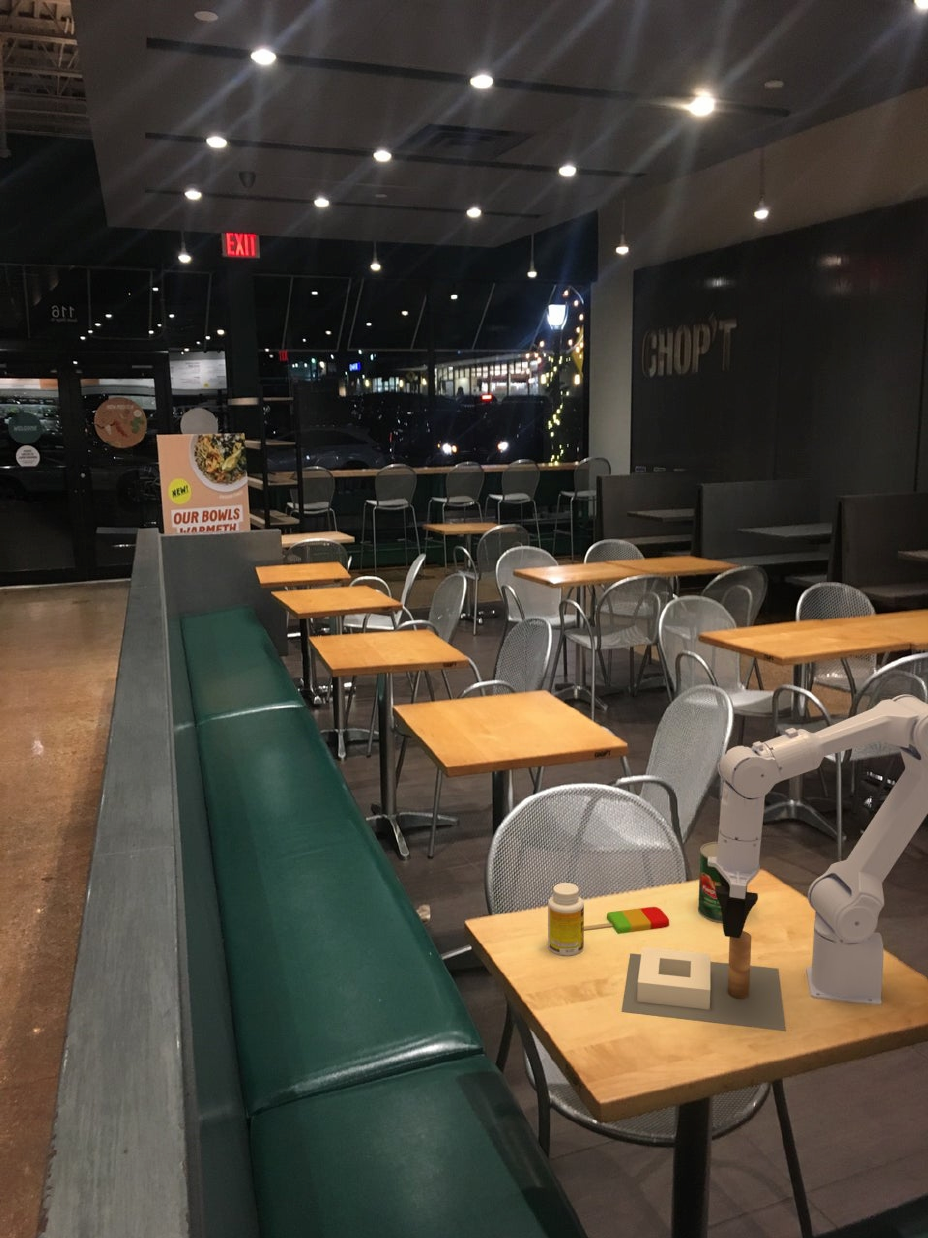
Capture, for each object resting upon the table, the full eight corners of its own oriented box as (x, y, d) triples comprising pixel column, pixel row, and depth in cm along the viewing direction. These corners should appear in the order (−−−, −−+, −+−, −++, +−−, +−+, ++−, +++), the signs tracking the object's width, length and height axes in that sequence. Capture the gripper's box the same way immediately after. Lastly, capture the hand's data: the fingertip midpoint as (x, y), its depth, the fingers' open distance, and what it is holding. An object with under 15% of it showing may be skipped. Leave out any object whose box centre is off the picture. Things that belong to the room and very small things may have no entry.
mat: (778, 970, 151) (778, 968, 151) (785, 1033, 136) (785, 1031, 136) (630, 955, 157) (630, 953, 157) (621, 1013, 141) (621, 1011, 141)
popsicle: (671, 931, 165) (672, 920, 164) (584, 943, 162) (584, 932, 161) (658, 915, 170) (658, 904, 170) (573, 926, 167) (573, 916, 166)
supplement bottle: (587, 956, 156) (587, 895, 154) (551, 959, 156) (551, 897, 154) (580, 938, 162) (580, 879, 160) (545, 940, 161) (545, 881, 159)
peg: (748, 989, 146) (751, 931, 145) (749, 1000, 143) (751, 942, 142) (727, 986, 147) (729, 929, 145) (727, 998, 144) (729, 940, 142)
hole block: (709, 972, 151) (710, 953, 150) (709, 1009, 141) (710, 990, 141) (641, 965, 153) (642, 946, 153) (637, 1001, 144) (637, 982, 143)
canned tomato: (701, 923, 166) (703, 860, 164) (695, 900, 174) (696, 840, 172) (750, 924, 165) (753, 861, 163) (742, 902, 173) (744, 841, 171)
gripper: (710, 811, 148) (703, 896, 151) (710, 850, 135) (702, 943, 137) (760, 816, 147) (752, 903, 149) (765, 857, 133) (755, 951, 136)
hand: (731, 923), depth 143 cm, fingers open, 7 cm apart
